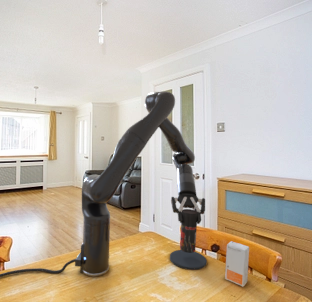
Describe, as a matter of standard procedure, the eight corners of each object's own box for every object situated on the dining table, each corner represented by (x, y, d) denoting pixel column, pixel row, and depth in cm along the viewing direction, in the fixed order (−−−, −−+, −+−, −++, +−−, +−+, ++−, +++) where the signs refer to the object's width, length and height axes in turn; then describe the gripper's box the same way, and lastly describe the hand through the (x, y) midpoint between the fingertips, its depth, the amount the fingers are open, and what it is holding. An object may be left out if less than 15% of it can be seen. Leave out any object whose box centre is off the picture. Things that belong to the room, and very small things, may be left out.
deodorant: (195, 253, 84) (198, 214, 84) (179, 251, 86) (181, 212, 85) (194, 246, 90) (197, 210, 90) (179, 244, 91) (181, 208, 91)
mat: (171, 268, 81) (171, 266, 81) (168, 250, 95) (168, 248, 95) (210, 271, 80) (211, 268, 80) (201, 252, 94) (202, 250, 94)
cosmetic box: (224, 279, 75) (226, 244, 75) (229, 274, 78) (230, 240, 78) (243, 287, 71) (245, 250, 71) (248, 282, 74) (249, 246, 74)
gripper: (170, 180, 95) (172, 216, 83) (204, 181, 94) (211, 218, 82) (168, 190, 100) (170, 225, 89) (201, 191, 99) (207, 227, 88)
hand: (190, 222), depth 86 cm, fingers closed on deodorant, 6 cm apart
